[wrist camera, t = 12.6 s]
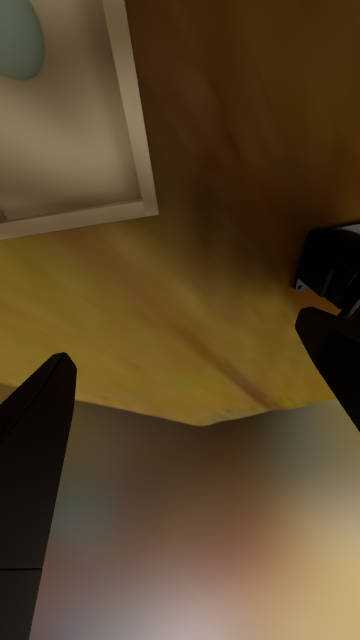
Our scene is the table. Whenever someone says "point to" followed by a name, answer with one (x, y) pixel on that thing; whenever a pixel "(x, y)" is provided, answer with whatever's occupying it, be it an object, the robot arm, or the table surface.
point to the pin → (20, 40)
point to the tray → (75, 126)
